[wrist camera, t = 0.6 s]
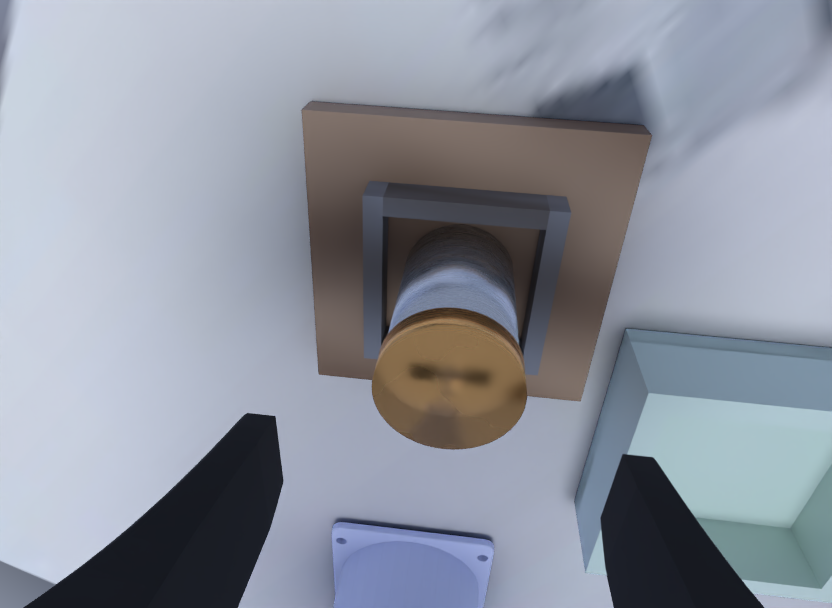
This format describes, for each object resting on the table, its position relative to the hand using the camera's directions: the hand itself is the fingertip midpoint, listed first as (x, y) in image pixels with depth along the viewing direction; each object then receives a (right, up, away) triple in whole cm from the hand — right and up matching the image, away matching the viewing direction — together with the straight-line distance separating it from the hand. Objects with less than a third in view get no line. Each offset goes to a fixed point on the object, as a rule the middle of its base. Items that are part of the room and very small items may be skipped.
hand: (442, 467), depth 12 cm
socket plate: (+1, +5, +8) cm, 9 cm away
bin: (+12, -2, +11) cm, 16 cm away
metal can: (+1, +4, +7) cm, 8 cm away
